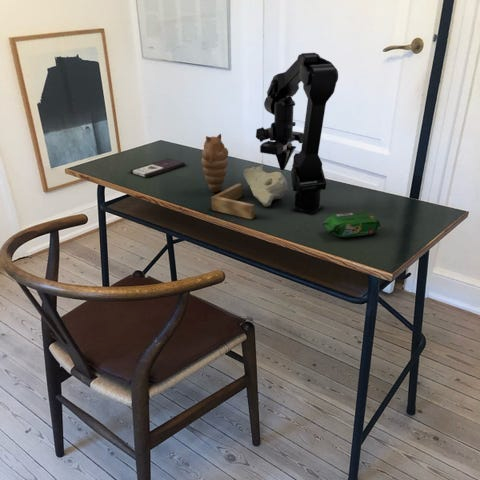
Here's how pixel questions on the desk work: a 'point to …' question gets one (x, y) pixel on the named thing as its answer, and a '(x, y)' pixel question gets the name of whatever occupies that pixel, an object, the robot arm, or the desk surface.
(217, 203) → the corner stop
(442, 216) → the desk surface
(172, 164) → the chocolate bar
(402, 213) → the desk surface
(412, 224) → the desk surface
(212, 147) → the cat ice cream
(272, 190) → the pale lumpy rock
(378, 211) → the desk surface
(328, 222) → the snack package
